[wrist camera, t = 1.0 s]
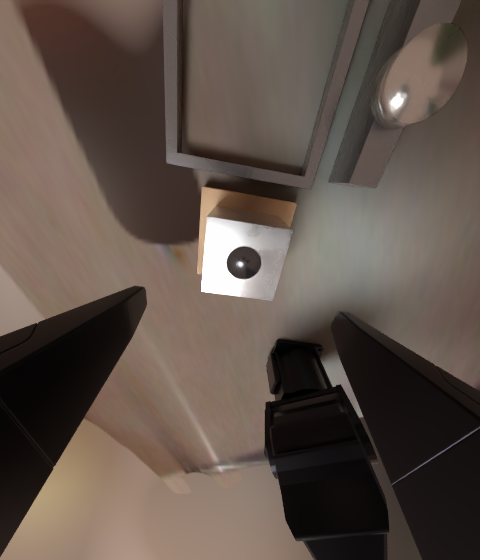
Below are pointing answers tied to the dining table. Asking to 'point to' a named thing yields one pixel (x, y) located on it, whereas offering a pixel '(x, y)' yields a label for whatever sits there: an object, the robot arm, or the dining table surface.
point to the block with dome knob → (244, 253)
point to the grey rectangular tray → (372, 96)
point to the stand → (241, 202)
